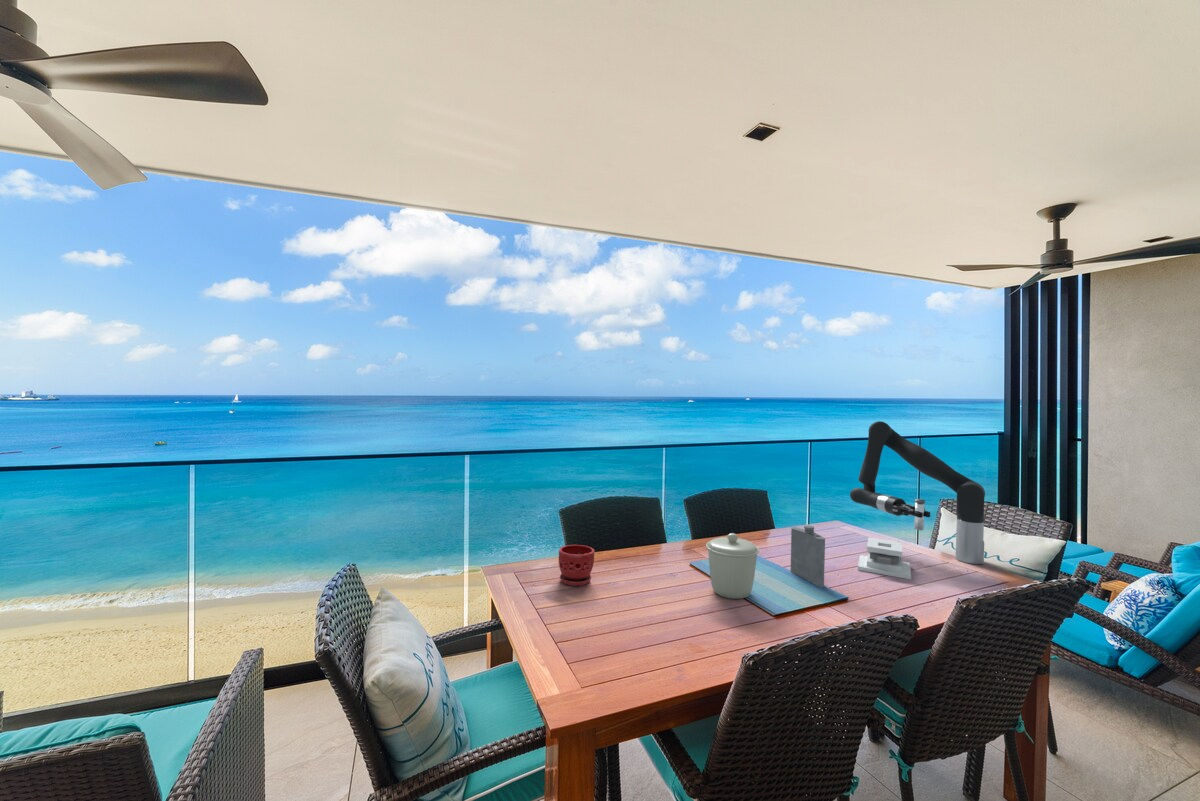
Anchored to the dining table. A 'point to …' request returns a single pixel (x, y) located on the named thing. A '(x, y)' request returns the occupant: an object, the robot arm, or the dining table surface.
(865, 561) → the clevis bracket
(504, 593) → the dining table surface
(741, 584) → the canister
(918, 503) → the clevis pin
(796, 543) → the hip flask
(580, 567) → the plant pot
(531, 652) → the dining table surface
